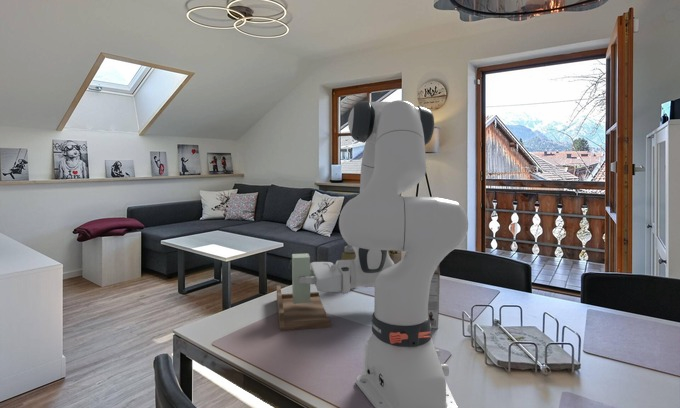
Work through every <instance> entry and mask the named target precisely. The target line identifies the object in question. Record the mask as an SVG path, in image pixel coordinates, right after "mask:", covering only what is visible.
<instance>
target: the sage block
mask: <svg viewBox="0 0 680 408" xmlns="http://www.w3.org/2000/svg"><path fill="white" fill-rule="evenodd" d="M310 263H311V256H310V254H309V253H307V252H306V253H292V254H291V270H292V271H291V273H292V274H291V277H292V279H291V280H292V284H291V286H292V292H291V293H292V294H293V303H294V304H298V303H310V292H311V284H307V283H299V277H300V276H305V277H311V276H310Z"/></svg>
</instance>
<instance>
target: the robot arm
mask: <svg viewBox="0 0 680 408" xmlns="http://www.w3.org/2000/svg"><path fill="white" fill-rule="evenodd" d="M347 123H348V124H347V126H348V130H349V132H350V136H351V138H352V139H353V140H354V141H357V142H360V143H363V144H364V147H363V153H362V158H361V164H360V166H361V167H360V183H359V193H358V194H357V195H356V196H355V197H353V198H351V199H349V200H348V201H347V202H346V203H345V204H344V205H343V207H342V209H341V211H340V212H339V213H340V215H339V218H338V228H339V232H340V234H341V235H340V236H341V237H342V238H343V240H344V241H345V243H346V244H347V245H350V246H352V248H353V249H354V252H355V253H356V258H355V259H353V260H341V259H338V260H336V262H335V263H333V262H331V261H313V262H310V277H305V276H300V277H299V283H307V284H310V285H315V288H316V291H317V292H319V293H320V292H322V293H339V292H341V293H342V294H348V293H350V291H351V289H356V288H359V287H361V288H363V287H364V288H374V300H373V302H374V306H373V307H374V309H373V310H374V311H373V312H372V315H371V331H372V333H371V336H369V339H367V341H366V343H364V353H363V355H364V356H363V371H362V373H361V374H359V375H357V377H356V379H355V383H356V385H357V387H358V388H359V389H360V390H361V392H362V393H363V395H365V397H366V398H367V399H368V401H369V402H370V403H371V405H373V407H374V408H459V406H458V405H457V402H456V400H455V398H454V395H453V394H452V392H451V389H450V387H449V385H448V383H447V381H446V377H449V375H450V369H449V366H448V364H447V363H441V361H440V359H439V358H440V356H441V354H440V349H436V347H435V345H434V342H433V336H432V328H431V323H430V318H429V316H428V300H429V291H430V284H431V280H432V276H433V274H434V272H435V270H436V268H437V266H438V265H439V266H440V263H441V262H442V261H443V260H444V259H445V258H446V256H448V255H449V254H450V253H451V252H452V251H454V250H455V249H457V248H458V247H460V246H461V244H462V243H463V242H464V241H465V238H466V237H467V234H468V230H469V219H468V215H467V213H466V211H465V209H464V207H463V206H462V205H461V204H460V203H459V201H456V200H452V199H448V198H444V197H443V198H442V197H437V196H402V195H401V194H402V193H404V192H406V191H408V190H410V189H412V188H414V187H416V186H417V185H418V184H419V183H420V182H421V181H423V179H424V177H425V176H426V173H427V160H426V159H427V157H426V145H428V143H430V141H431V140H432V138H433V135H434V133H435V132H434V131H435V117H434V114H433V112H432V111H431V109H429V108H426V107H423V106H419V105H418V106H415V105H414V104H413V103H411V102H410V101H407V100H403V99H400V100H399V99H398V100H393V101H370V100H361V101H356V103H355V104H354V105H353V106H352V108H351V110H350V112H349V116H348V118H347ZM389 251H402V252H405V253H404V255H403V257H402V258H401V260H400V261H398V262H396V263H395V262H394V261H393V260H392V258H391V256H390V254H389Z"/></svg>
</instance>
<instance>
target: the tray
mask: <svg viewBox="0 0 680 408" xmlns="http://www.w3.org/2000/svg"><path fill="white" fill-rule="evenodd" d="M276 304H277V305H276V307H277V317H278V325H279V326H278V327H279V331H280V332H283V331H294V330H295V331H297V330H308V329H320V328H321V329H322V328H323V329H324V328H331V319H329V318H328V315H327V313H326V310H325V308H324V305H323V303H322V300H321V298H320V291H314V292H313V291H312V292H311V291H310V303H298V304H294V303H293V293H282V288H281V284H276Z"/></svg>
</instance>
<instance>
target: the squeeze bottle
mask: <svg viewBox="0 0 680 408" xmlns="http://www.w3.org/2000/svg"><path fill="white" fill-rule="evenodd" d="M343 250H344V252H342V253H341V259H340V260H353V259H355V258H356V253H355V252H354V249H353V248H352V246H350V245H348V244H347V245H346V246H344V249H343Z"/></svg>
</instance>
